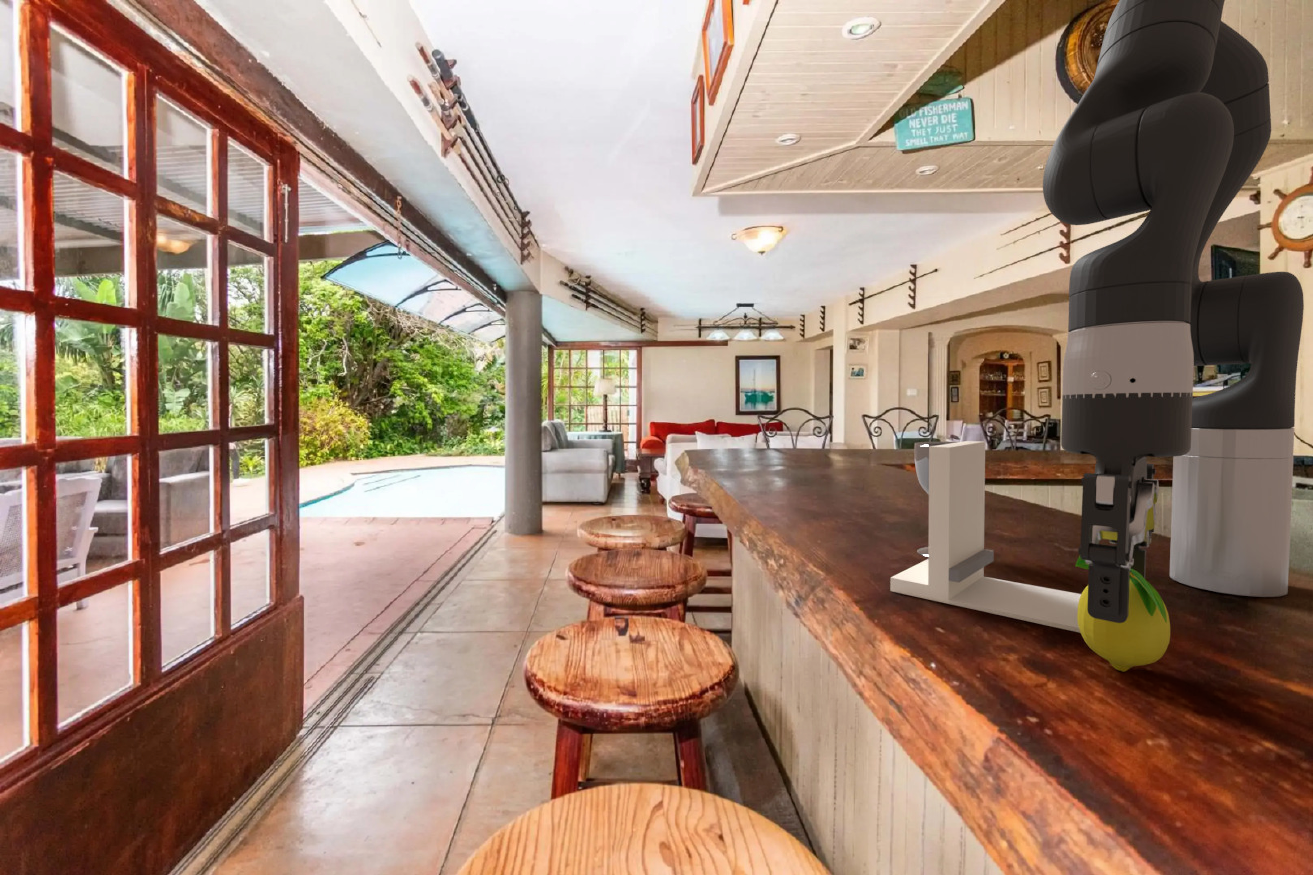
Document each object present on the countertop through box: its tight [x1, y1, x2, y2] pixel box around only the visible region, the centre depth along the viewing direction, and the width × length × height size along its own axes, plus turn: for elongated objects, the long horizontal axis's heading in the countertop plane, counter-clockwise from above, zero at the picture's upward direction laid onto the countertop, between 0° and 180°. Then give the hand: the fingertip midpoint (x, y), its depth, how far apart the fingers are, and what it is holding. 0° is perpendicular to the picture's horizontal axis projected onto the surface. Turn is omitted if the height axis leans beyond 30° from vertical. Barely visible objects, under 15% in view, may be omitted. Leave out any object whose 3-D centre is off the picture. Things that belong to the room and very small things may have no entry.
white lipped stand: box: [889, 440, 1082, 634], centre depth 60 cm, size 11×18×16 cm, turn 44°
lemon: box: [1075, 555, 1171, 673], centre depth 44 cm, size 7×6×10 cm
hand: (1117, 605), depth 44 cm, fingers open, 8 cm apart
